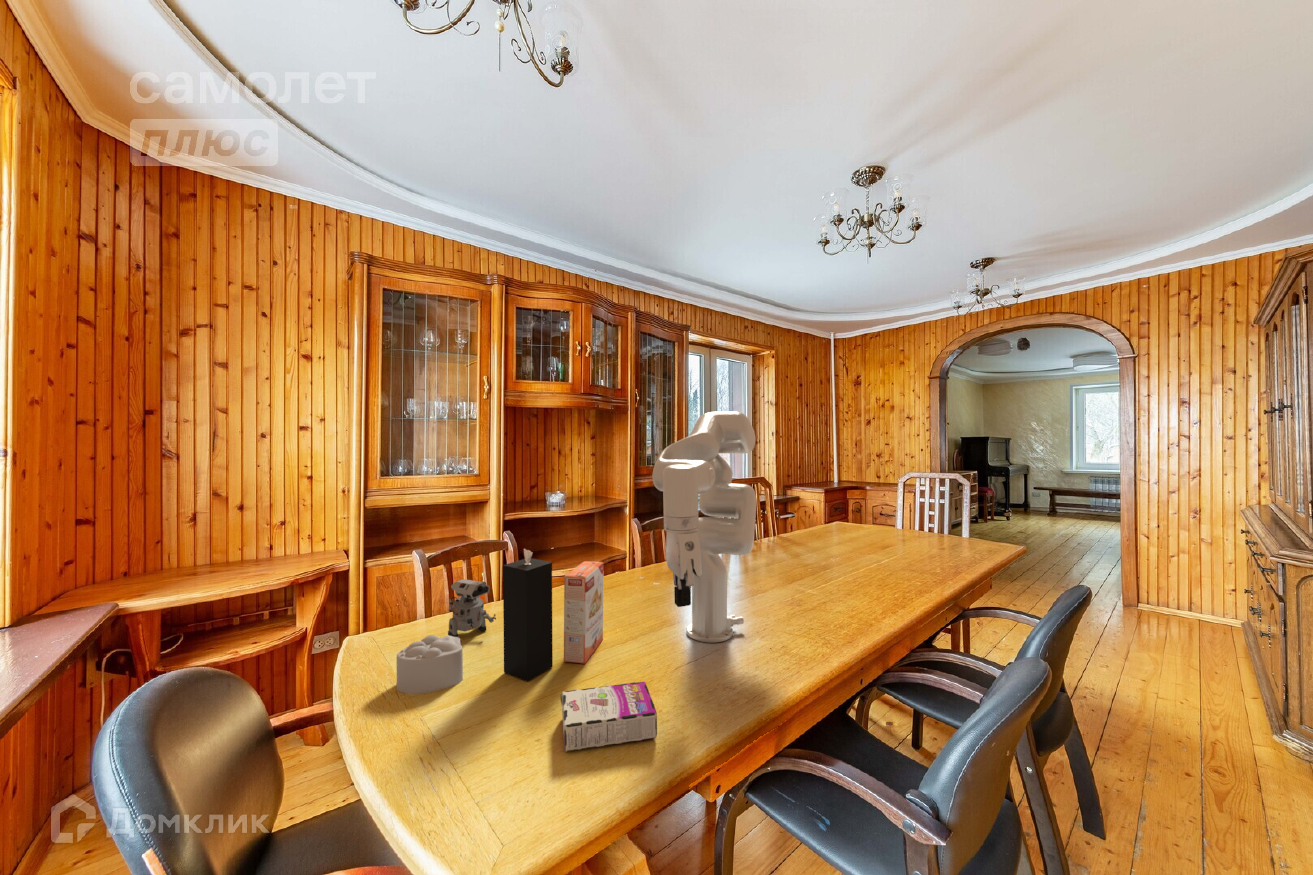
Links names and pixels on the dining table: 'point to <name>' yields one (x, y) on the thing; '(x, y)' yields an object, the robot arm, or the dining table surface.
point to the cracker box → (583, 611)
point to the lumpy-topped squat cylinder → (430, 665)
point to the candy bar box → (608, 716)
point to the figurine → (468, 607)
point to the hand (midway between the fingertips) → (682, 604)
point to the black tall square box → (527, 617)
